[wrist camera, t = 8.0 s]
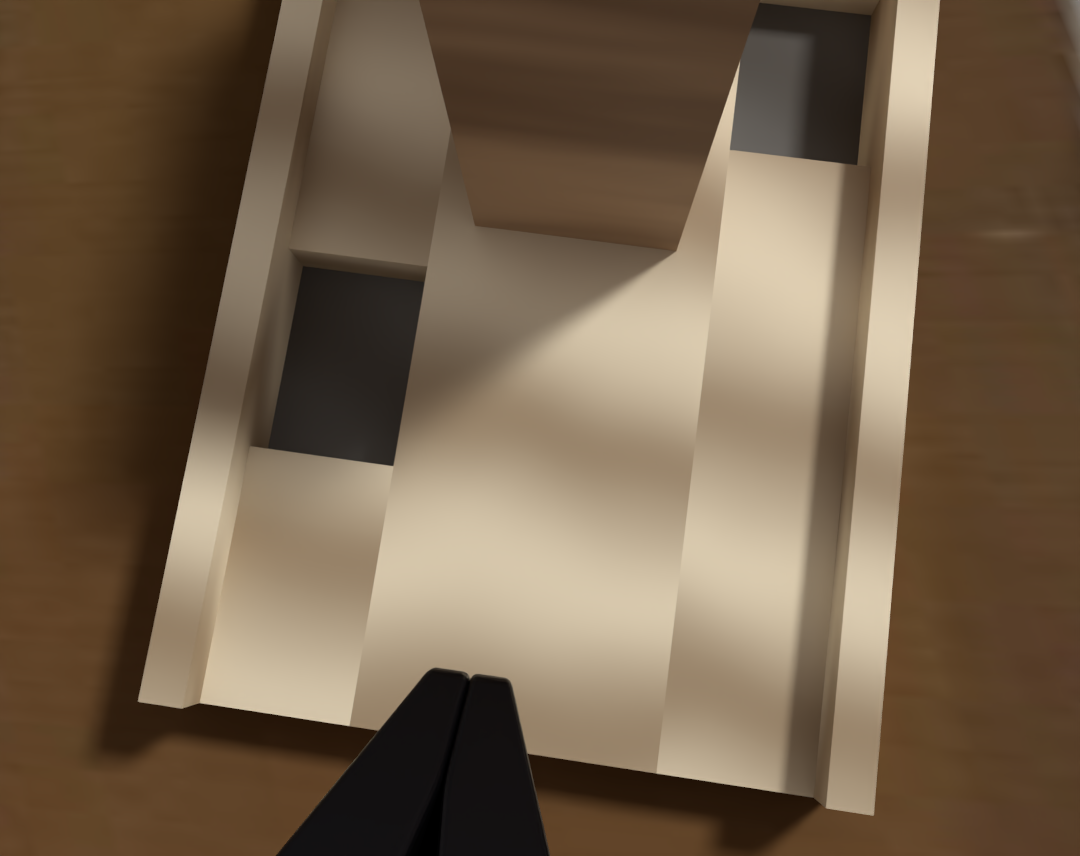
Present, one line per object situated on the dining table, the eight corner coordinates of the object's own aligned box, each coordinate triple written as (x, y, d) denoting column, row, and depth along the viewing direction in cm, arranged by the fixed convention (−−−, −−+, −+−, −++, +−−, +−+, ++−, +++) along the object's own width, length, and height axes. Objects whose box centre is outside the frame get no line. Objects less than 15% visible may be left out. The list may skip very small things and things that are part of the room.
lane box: (839, 790, 22) (898, 833, 18) (183, 689, 23) (104, 710, 19) (925, -201, 27) (988, -338, 23) (371, -257, 27) (339, -399, 23)
